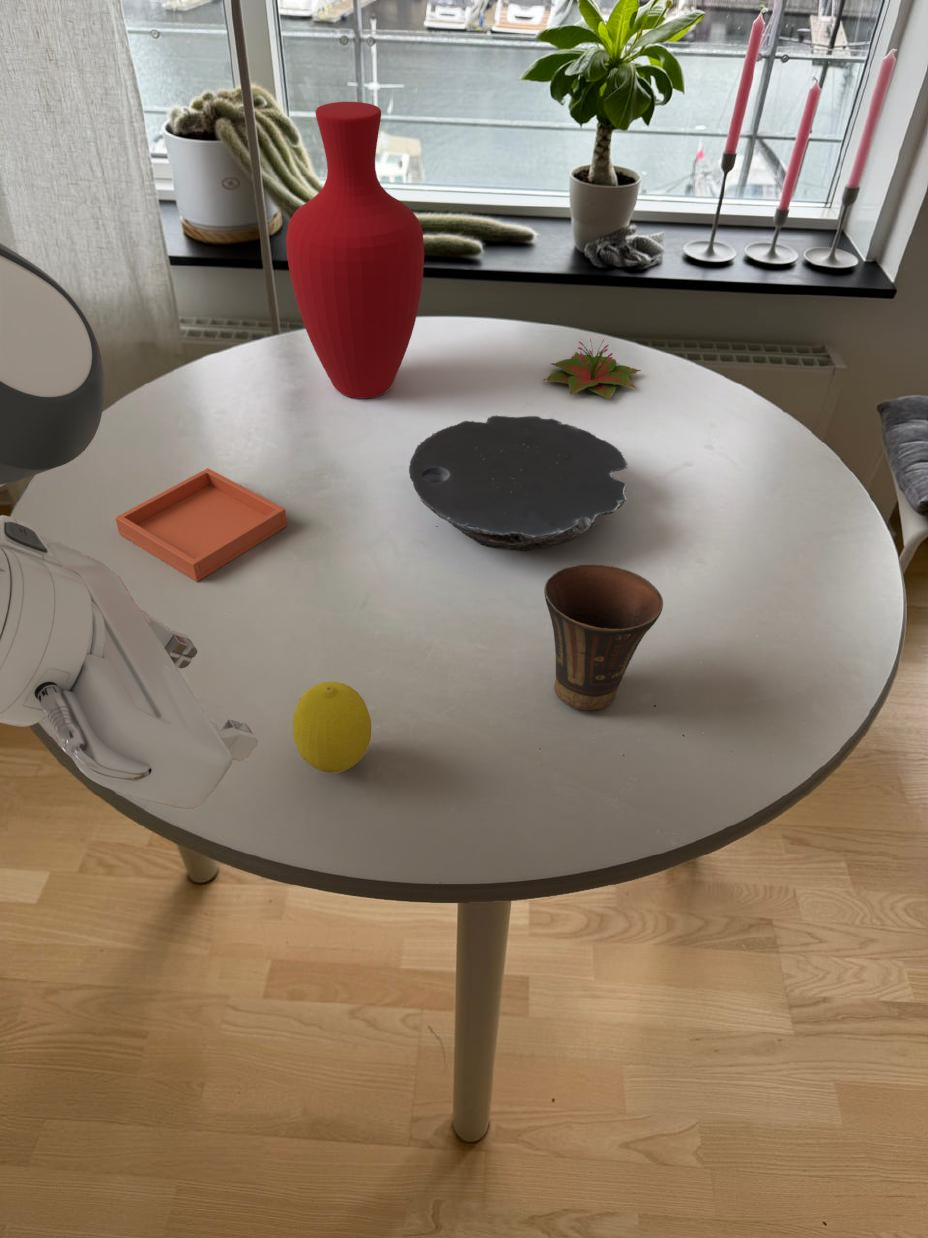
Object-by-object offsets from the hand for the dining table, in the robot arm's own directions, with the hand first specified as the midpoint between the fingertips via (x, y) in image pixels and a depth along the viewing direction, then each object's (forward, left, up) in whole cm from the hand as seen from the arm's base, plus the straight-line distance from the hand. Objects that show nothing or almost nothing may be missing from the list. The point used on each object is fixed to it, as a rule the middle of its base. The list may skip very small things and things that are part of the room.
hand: (216, 696), depth 62 cm
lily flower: (+70, +15, -11) cm, 72 cm away
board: (+42, +6, -11) cm, 43 cm away
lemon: (+7, -3, -11) cm, 13 cm away
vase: (+51, +35, -11) cm, 63 cm away
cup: (+26, -13, -11) cm, 31 cm away
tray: (+20, +27, -11) cm, 35 cm away
